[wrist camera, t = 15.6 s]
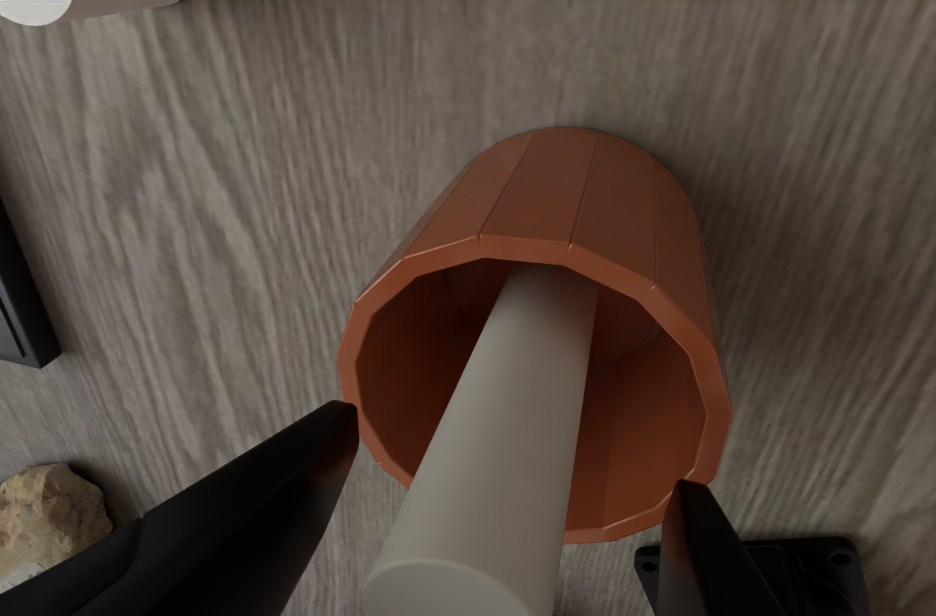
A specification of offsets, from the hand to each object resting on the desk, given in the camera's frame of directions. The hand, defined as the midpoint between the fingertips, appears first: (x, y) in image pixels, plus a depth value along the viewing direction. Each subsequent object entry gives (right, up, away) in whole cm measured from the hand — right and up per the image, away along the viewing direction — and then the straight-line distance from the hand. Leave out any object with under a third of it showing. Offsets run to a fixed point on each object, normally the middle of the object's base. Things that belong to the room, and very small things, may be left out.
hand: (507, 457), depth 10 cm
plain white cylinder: (+2, +4, +5) cm, 6 cm away
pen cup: (+2, +4, +6) cm, 7 cm away
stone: (-18, -14, +21) cm, 31 cm away
